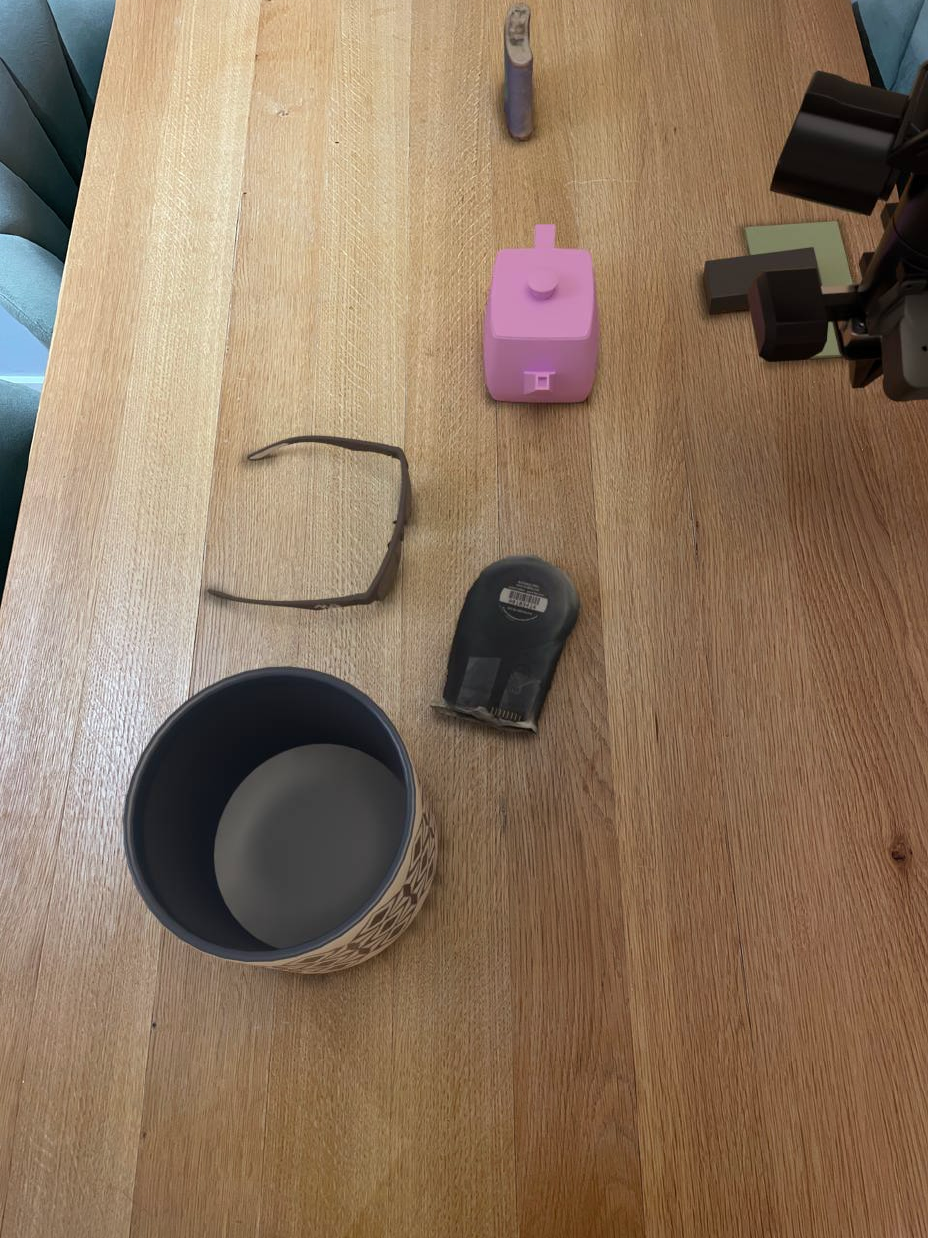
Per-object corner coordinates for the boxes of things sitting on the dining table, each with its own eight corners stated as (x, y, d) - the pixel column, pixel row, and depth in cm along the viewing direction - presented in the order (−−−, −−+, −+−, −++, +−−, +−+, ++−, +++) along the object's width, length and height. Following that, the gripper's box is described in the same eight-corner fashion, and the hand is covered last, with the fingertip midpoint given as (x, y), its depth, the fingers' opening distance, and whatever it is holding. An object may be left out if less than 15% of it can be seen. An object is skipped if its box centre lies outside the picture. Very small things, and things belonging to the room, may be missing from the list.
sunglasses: (396, 633, 79) (381, 609, 74) (213, 616, 82) (188, 592, 78) (431, 465, 85) (420, 433, 80) (259, 455, 88) (239, 424, 84)
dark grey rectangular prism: (813, 246, 88) (704, 260, 89) (822, 283, 86) (711, 297, 88) (808, 265, 90) (702, 279, 92) (817, 302, 89) (708, 316, 90)
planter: (205, 746, 76) (127, 680, 61) (429, 722, 76) (406, 649, 61) (202, 986, 69) (113, 979, 54) (449, 961, 69) (429, 947, 54)
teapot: (595, 441, 85) (605, 369, 76) (479, 438, 86) (474, 368, 76) (597, 284, 92) (605, 201, 82) (489, 283, 93) (485, 200, 83)
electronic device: (548, 746, 76) (592, 573, 79) (538, 734, 71) (585, 550, 74) (440, 720, 79) (487, 554, 82) (423, 706, 73) (473, 530, 77)
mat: (744, 229, 94) (745, 226, 93) (836, 223, 93) (837, 220, 93) (770, 361, 87) (771, 358, 87) (868, 355, 87) (869, 352, 87)
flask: (533, 141, 100) (534, 45, 90) (505, 142, 100) (503, 47, 90) (529, 80, 103) (530, -19, 93) (502, 81, 103) (500, -17, 94)
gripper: (808, 341, 53) (746, 483, 68) (1144, 320, 53) (1010, 468, 67) (776, 194, 58) (724, 357, 72) (1087, 173, 57) (972, 342, 71)
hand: (856, 383), depth 71 cm, fingers closed
